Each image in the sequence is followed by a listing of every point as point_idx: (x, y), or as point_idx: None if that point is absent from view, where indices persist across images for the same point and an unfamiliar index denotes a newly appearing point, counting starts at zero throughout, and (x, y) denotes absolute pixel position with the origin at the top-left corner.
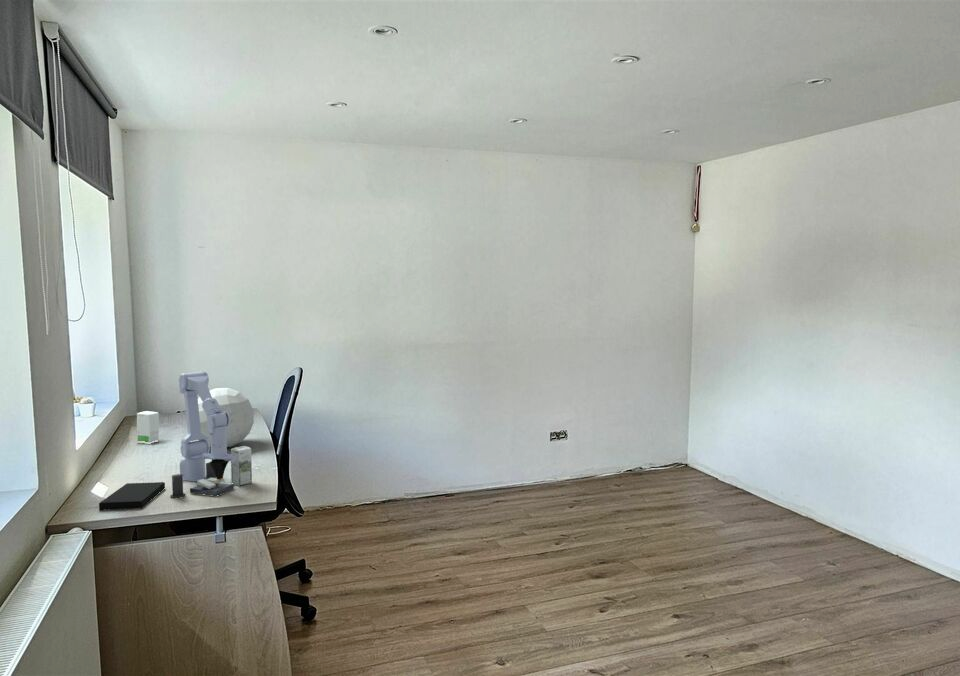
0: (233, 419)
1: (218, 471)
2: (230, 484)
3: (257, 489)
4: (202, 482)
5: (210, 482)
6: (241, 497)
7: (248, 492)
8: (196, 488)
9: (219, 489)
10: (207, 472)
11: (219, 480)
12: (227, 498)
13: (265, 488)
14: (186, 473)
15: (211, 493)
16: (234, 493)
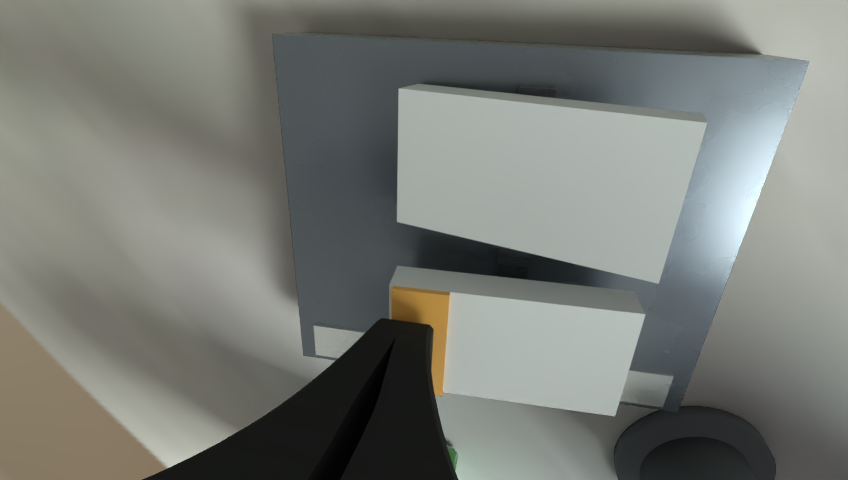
0: None
1: (317, 392)
2: (314, 328)
3: (126, 336)
4: (582, 138)
5: (483, 227)
6: (42, 92)
7: (122, 252)
8: (681, 94)
9: (300, 136)
10: None
11: (390, 312)
12: (138, 13)
13: (94, 365)
14: None
15: (367, 36)
16: (213, 199)
